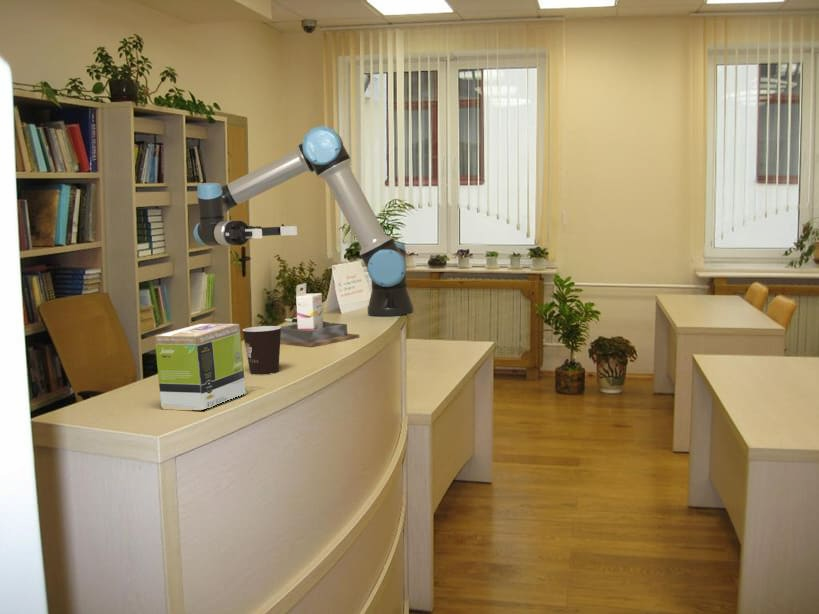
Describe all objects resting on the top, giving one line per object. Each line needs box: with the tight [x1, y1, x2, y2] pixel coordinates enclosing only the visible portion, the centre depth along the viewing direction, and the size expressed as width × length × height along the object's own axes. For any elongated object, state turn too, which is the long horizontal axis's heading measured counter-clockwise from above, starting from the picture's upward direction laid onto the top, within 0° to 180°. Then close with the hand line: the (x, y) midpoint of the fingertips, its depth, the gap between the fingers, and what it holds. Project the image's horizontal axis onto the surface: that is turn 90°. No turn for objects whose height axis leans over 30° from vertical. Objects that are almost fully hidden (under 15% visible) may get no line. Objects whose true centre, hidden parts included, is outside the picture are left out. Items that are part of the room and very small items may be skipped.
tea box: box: [154, 323, 247, 409], centre depth 181 cm, size 15×10×15 cm, turn 157°
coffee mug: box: [242, 325, 282, 375], centre depth 212 cm, size 12×9×10 cm
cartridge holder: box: [280, 321, 360, 348], centre depth 257 cm, size 18×20×4 cm
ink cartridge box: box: [295, 282, 324, 330], centre depth 257 cm, size 9×5×15 cm, turn 168°
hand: (278, 232), depth 271 cm, fingers open, 13 cm apart
